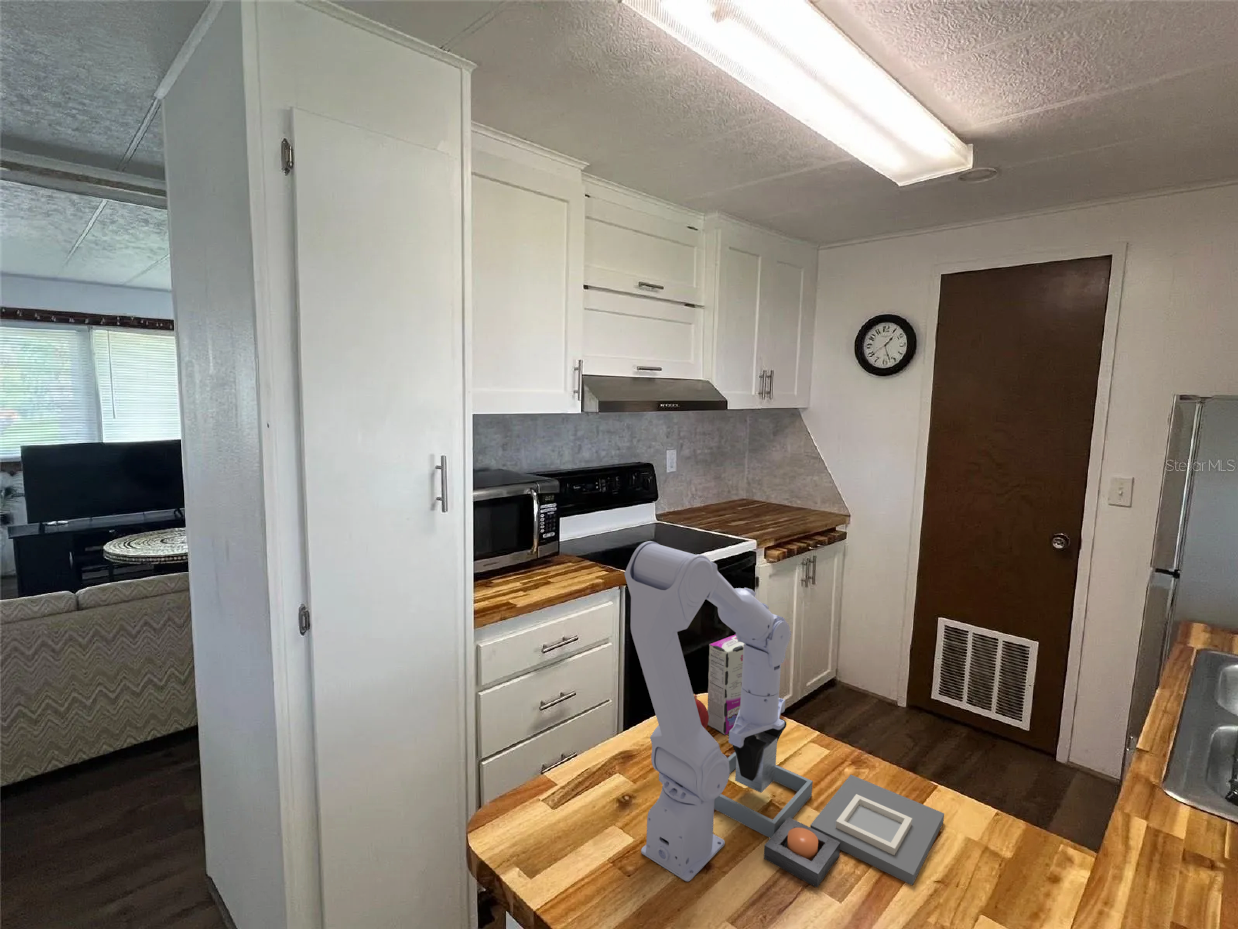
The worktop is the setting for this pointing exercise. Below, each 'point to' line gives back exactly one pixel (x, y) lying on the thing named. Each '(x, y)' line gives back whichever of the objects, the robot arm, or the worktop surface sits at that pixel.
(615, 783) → the worktop surface
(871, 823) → the board
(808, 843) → the button
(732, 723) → the candy bar box
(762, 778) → the block
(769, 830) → the tote
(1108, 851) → the worktop surface
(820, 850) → the button collar
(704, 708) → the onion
